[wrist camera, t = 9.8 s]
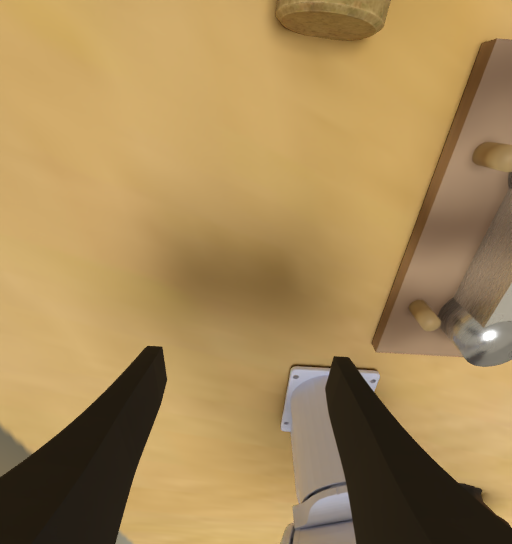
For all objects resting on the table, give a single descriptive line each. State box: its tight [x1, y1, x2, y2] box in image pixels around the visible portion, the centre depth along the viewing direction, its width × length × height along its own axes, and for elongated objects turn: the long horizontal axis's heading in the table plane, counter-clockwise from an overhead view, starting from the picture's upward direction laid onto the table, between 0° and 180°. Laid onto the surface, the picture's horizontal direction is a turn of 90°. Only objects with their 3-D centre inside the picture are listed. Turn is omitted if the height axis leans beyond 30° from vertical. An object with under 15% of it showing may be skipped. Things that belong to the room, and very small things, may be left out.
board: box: [372, 39, 512, 357], centre depth 18 cm, size 20×11×3 cm, turn 176°
